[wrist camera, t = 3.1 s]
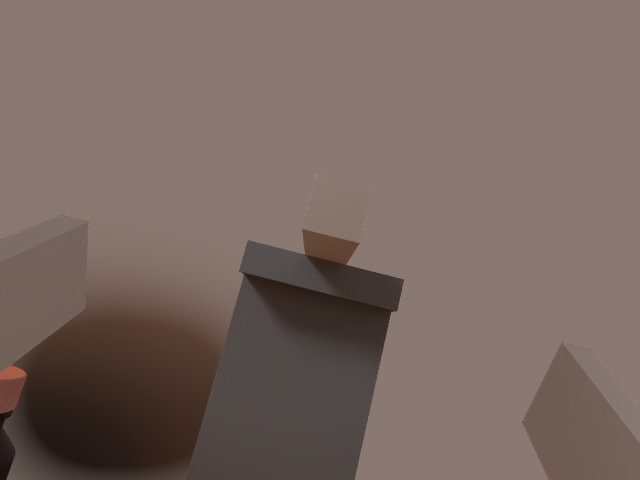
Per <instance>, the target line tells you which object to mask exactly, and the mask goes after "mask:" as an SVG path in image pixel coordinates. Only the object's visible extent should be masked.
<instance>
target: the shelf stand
mask: <svg viewBox="0 0 640 480" xmlns="http://www.w3.org/2000/svg"><path fill="white" fill-rule="evenodd" d="M239 272H241V273H243V274H244V277H243V281H242V284H241V288H240V291H239V295H238V298H237V302H236V305H235V309H234V312H233V316H232V319H231V323H230V327H229V330H228V333H227V337H226V340H225V344H224V347H223V351H222V354H221V358H220V361H219V365H218V369H217V372H216V376H215V379H214V383H213V386H212V390H211V393H210V397H209V400H208V404H207V408H206V411H205V414H204V418H203V421H202V425H201V428H200V432H199V435H198V439H197V443H196V446H195V449H194V453H193V457H192V460H191V464H190V467H189V471H188V475H187V478H186V480H355V475H356V470H357V466H358V461H359V457H360V452H361V448H362V443H363V439H364V434H365V429H366V424H367V420H368V416H369V411H370V407H371V402H372V397H373V393H374V388H375V383H376V379H377V374H378V370H379V365H380V361H381V356H382V352H383V347H384V342H385V338H386V333H387V328H388V324H389V319H390V315H391V312H394V311H397V309H398V305H399V300H400V296H401V291H402V286H403V282H404V279H400V278H396V277H392V276H388V275H384V274H380V273H376V272H372V271H368V270H364V269H360V268H356V267H352V266H348V265H344V264H340V263H336V262H332V261H328V260H324V259H320V258H316V257H312V256H308V255H304V254H300V253H296V252H292V251H288V250H284V249H281V248H276V247H272V246H269V245H265V244H261V243H256V242H253V241H248V242H247V245H246V249H245V253H244V256H243V260H242V263H241V266H240V270H239Z"/></svg>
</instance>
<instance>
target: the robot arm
mask: <svg viewBox="0 0 640 480" xmlns="http://www.w3.org/2000/svg"><path fill="white" fill-rule="evenodd" d="M87 243H88V222H87V221H83V220H79V219H75V218H71V217H67V216H63V215H61V216H58V217H55V218H53V219H50V220H48V221H45V222H43V223H40V224H38V225H35V226H33V227H30V228H28V229H25V230H23V231H20V232H18V233H15V234H13V235H10V236H8V237H5V238H3V239H0V373H1V372H2V371H3V370H5V369H6V368H7V367H9V366H10V365H11V364H12V363H14V362H15V361H16V360H18V359H19V358H20V357H22V356H23V355H24V354H26V353H27V352H28V351H30V350H31V349H32V348H34V347H35V346H36V345H38V344H39V343H40V342H42V341H43V340H44V339H45V338H47V337H48V336H49V335H51V334H52V333H53V332H55V331H56V330H57V329H59V328H60V327H61V326H62V325H64V324H65V323H67V322H68V321H69V320H70V319H72V318H73V317H74V316H76V315H77V314H78V313H80V312H81V311H82V310H84V309H85V301H86V271H87ZM522 423H523V425H524V427H525V429H526V432H527V434H528V436H529V438H530V440H531V442H532V445H533V447H534V449H535V451H536V453H537V455H538V457H539V460H540V462H541V464H542V466H543V468H544V471H545V473H546V475H547V477H548V479H549V480H640V406H639V405H638V404H637V403H636V402H635V400H634V399H633V398H632V397H631V396H630V395H629V393H628V392H627V391H626V390H625V389H624V388H623V386H622V385H621V384H620V383H619V382H618V381H617V379H616V378H615V377H614V376H613V375H612V374H611V373H610V371H609V370H608V369H607V368H606V367H605V366H604V364H603V363H602V362H601V361H600V360H599V359H598V357H597V356H596V355H595V354H594V353H593V352H592V350H591V349H588V348H584V347H580V346H576V345H572V344H567V343H564V342H562V343H561V345H560V347H559V349H558V351H557V353H556V355H555V357H554V359H553V361H552V363H551V365H550V367H549V369H548V371H547V373H546V375H545V377H544V379H543V381H542V383H541V385H540V387H539V389H538V391H537V393H536V395H535V397H534V399H533V401H532V403H531V405H530V407H529V409H528V411H527V413H526V415H525V418H524V419H523V421H522Z"/></svg>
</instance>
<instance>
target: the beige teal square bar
mask: <svg viewBox="0 0 640 480" xmlns="http://www.w3.org/2000/svg"><path fill="white" fill-rule="evenodd" d="M372 190H373V188H372V187H368V186H364V185H360V184H356V183H352V182H348V181H344V180H340V179H336V178H332V177H328V176H324V175H320V174H316V178H315V181H314V186H313V189H312V193H311V197H310V200H309V204H308V208H307V212H306V216H305V219H304V223H303V227H302V233H303V241H304V248H305V255H308V256H312V257H316V258H320V259H324V260H328V261H332V262H336V263H340V264H344V265H346V264H347V262H348V261H349V259H350V258H351V256H352V254H353V253H354V251H355V250H356V248H357V247H358V245H359V244H360V240H361V236H362V232H363V227H364V223H365V219H366V215H367V211H368V206H369V202H370V198H371V194H372Z"/></svg>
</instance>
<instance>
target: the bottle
mask: <svg viewBox="0 0 640 480" xmlns="http://www.w3.org/2000/svg"><path fill="white" fill-rule="evenodd" d="M26 377H27V375H26V373H25V372H24V371H23V370H21V369H19V368H17V367H14V366H11V365H10V366H9V367H7V368H6V369H5V370H3V371H2V372H1V373H0V480H6V479H7V476H8V473H9V471H10V468H11V465H12V462H13V459H14V456H15V448H14V446H13V444H12V442H11V440H10V438H9V437H8V435H7V434H6V432H5V431H4V429H3V428H2V427H3V424H4V421H5V419H6V418H8V417H10V416H11V414H12V412H13V409H14V408H15V406H16V404H17V401H18V399H19V396H20V393H21V390H22V388H23V385H24V382H25V379H26Z"/></svg>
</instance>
